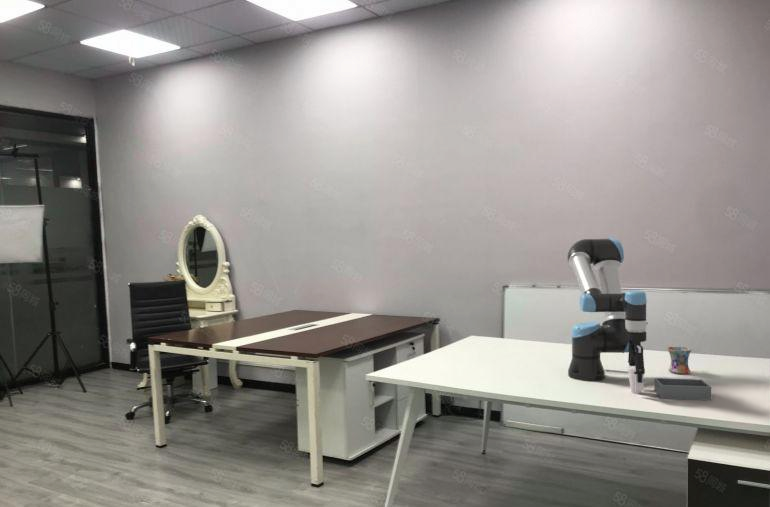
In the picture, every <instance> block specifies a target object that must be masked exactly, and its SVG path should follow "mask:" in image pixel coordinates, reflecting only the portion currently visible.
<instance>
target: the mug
mask: <svg viewBox="0 0 770 507" xmlns="http://www.w3.org/2000/svg"><path fill="white" fill-rule="evenodd" d="M667 351H668V353H669V356H670V365H669V368H668V371H669V372H671V373H673V374H675V375H676V374H678V375H687V374H690V373H691V369H690V368H689V358H690V354H691V352H692V349H691V348H690V347H689V348H688V347H685V346H684V347H683V346H669V347H667Z"/></svg>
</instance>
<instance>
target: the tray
mask: <svg viewBox="0 0 770 507" xmlns="http://www.w3.org/2000/svg"><path fill="white" fill-rule="evenodd" d="M653 381H654V392H655V394H657V395H658V397H659V398H660V399H667V400H668V399H669V400H670V399H671V400H673V399H674V400H693V401H694V400H695V401H696V400H697V401H712V386H710V384H708V383H707V382H706V381H705V380H704V379H699V378H698V379H691V378H662V377H655V378H654V380H653Z"/></svg>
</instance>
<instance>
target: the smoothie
mask: <svg viewBox="0 0 770 507" xmlns="http://www.w3.org/2000/svg"><path fill="white" fill-rule="evenodd" d="M626 370H627V371H628V378H629V379H628V380H630V382H629V386H630V387H629V388H630V393H632V394H637V395H640V394H642V392H643V391H636V390H635V374H634V372H636V368H635V366H630V367H629V366H627V369H626ZM644 371H645V372H646V369H645V367H644ZM644 375H645V373H644V374H643V378H644Z"/></svg>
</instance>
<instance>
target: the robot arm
mask: <svg viewBox="0 0 770 507" xmlns="http://www.w3.org/2000/svg"><path fill="white" fill-rule="evenodd" d="M569 248H570V249H569V250H568V253H567V263H568V265H569V266H570V268H571V269H572V270H573V272H574V274H575V279H576V281H577V284H578V286H579V289H580V292H581V294H580V296H579V307H580V310H581V311H582V312H585V313H604V320H603V321H602V322H601V324H602V325H601V324H600V322H597V321H587V322H579V323H576V324H574V325H573V326H572V328H571V360H570V364H569V366H568V369H567V376H568V377H570V378H571V379H574V380H580V381H601V380H604V379H605V378H606V373H605V370H604V366H603V363H602V359H601V354H603V353H609V354H610V353H612V354H615V353H616V354H617V353H619V354H621V353H622V354H626V353H628V358H627V359H628V361H627V363H628V365H629V366H628V367H630V366H635V368H636V372H634V374H635V390H636V391H642V392H644V377H643V374H644V375H645V374H646V370H645V371H644V368H645V359H644V358H645V357H644V347H643V346H642V344H641V343H643V342H646V341H647V332H646V330H647V325H648V323H649V322H647V302H648V300H647V294H646V292H645V291H644V290H643V291H642V290H627V291H626V292H622V286H621V285H622V284H621V280H620V274H619V269H620V267H621V264H622V263H623V262H624V260H625V259H624V258H625V257H624V254H625V253H624V248H623V245H622V243H621V242H620V240H619V239H617V238H608V237H607V238H589V239H588V238H583V239H581V240H578V241H576V242H574V244H572V245H571V247H569ZM592 265H593V268H594V270H595V271H597V272H598V279H599V283H598V281H597V278H596V275H595V273H594V271H593V268H592ZM628 380H629V379H628ZM629 383H630V380H629Z"/></svg>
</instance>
